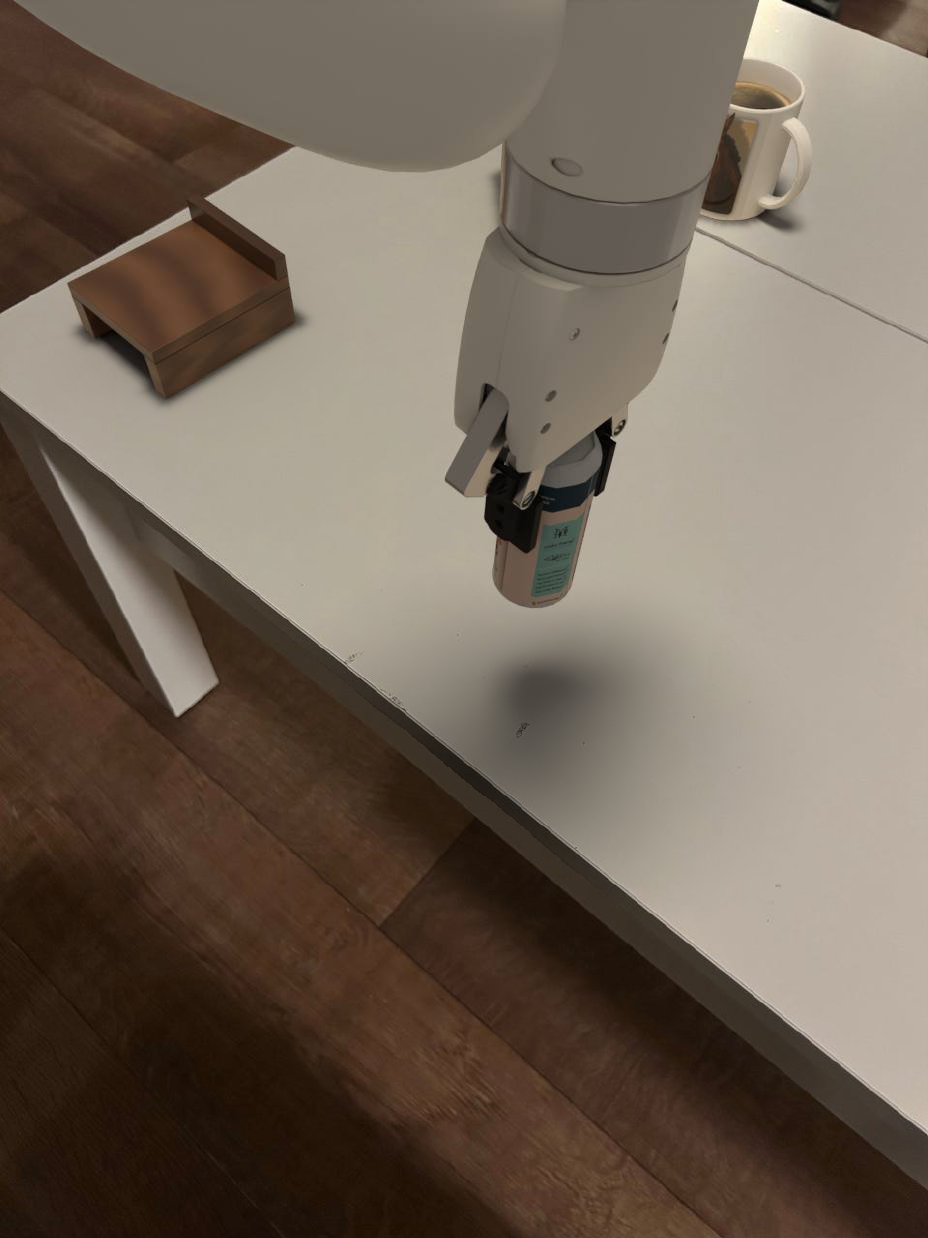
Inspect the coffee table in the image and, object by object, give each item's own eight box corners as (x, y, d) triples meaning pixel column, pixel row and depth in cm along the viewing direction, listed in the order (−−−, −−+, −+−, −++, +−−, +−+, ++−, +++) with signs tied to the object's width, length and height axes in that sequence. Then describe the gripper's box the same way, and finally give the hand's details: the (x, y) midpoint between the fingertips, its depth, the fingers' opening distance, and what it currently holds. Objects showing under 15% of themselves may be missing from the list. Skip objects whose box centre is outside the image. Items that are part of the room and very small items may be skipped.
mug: (766, 165, 99) (800, 56, 90) (791, 235, 93) (831, 124, 83) (668, 165, 99) (692, 55, 89) (686, 234, 92) (714, 123, 83)
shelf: (166, 399, 78) (144, 332, 72) (85, 330, 82) (58, 261, 76) (295, 322, 84) (285, 254, 78) (213, 261, 88) (197, 192, 82)
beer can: (520, 535, 57) (543, 387, 47) (586, 573, 56) (623, 430, 46) (475, 585, 55) (489, 442, 45) (542, 627, 54) (572, 488, 44)
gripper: (660, 75, 40) (592, 395, 55) (364, 238, 33) (380, 554, 48) (809, 149, 37) (694, 464, 52) (522, 344, 30) (485, 644, 45)
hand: (544, 505), depth 50 cm, fingers closed on beer can, 4 cm apart
